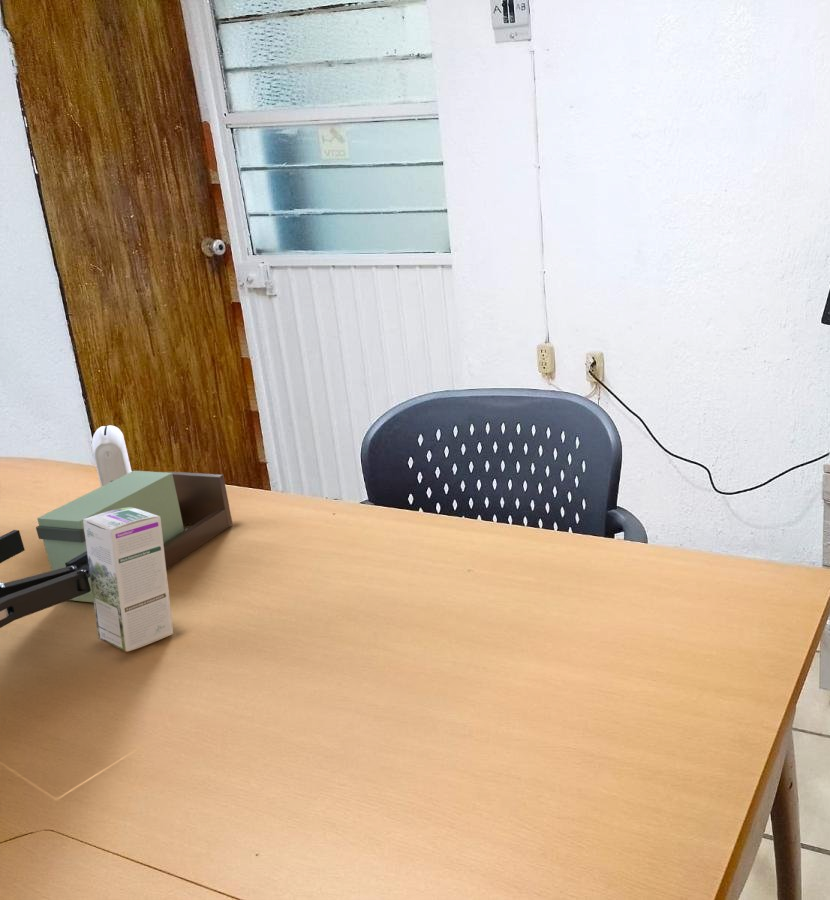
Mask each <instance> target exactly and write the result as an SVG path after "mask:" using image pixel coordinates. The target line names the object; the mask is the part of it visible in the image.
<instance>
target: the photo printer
mask: <svg viewBox="0 0 830 900" xmlns="http://www.w3.org/2000/svg"><path fill="white" fill-rule="evenodd" d="M91 451H92V456H93V460H94V463H95V468H96V472H97V476H98V480H99V484H100V487H102V486H104V485H106V484H108V483H110V482H112V481H114V480H116V479H118V478H120V477H122V476H124V475H126V474H128V473H130V472H132V471H133V470H132V467H131V463H130V458H129V454H128V449H127V446H126V441H125V437H124V433H123V432H122V431H121V429H120V428H119V427H117V426H115V425H111V424H108V425H107V426H106V425H102V426H100V427H98V428H97V429H96V430H95V432H94V433H93V436H92V440H91Z"/></svg>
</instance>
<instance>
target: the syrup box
mask: <svg viewBox="0 0 830 900" xmlns="http://www.w3.org/2000/svg"><path fill="white" fill-rule="evenodd" d="M83 520H84V521H83V524H84V532H85V540H86V547H87V555H88V563H89V570H90V577H91V586H92V592H93V601H94V602H93V608H94V615H95V622H96V628H97V629H96V631H97V637H98V639H99V640H100V641H102V642H104V643H107V644H109V645H110V646H113V647H115V648H117V649H119V650H122V651H124V652H126V653H127V652H131V651H134V650H137V649H140V648H143V647H146V646H148V645H150V644H153V643H156V642H157V641H160V640H163V639H164V638H165V639H166V638H167V637H169V636H171V635H173V634H174V628H173V620H172V618H173V617H172V609H171V599H170V591H169V582H168V574H167V573H168V572H167V569H166V564H165V555H164V545H163V536H162V527H161V518H160V516H158V515H154V514H151V513H149V512H146V511H142V510H139V509H136V508H133V507H127V508H121V509H116V510H111V511H107V512H104V513H100V514H97V515H95V516H92V517H89V518H85V519H83Z"/></svg>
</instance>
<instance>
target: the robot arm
mask: <svg viewBox="0 0 830 900" xmlns="http://www.w3.org/2000/svg"><path fill="white" fill-rule="evenodd" d="M24 551H26V550H25V546H24V542H23V539H22V536H21V532H20V530H19V529H13V530H11V531H9V532H7V533H4V534H2V535H1V536H0V564H1V563H4V562H6V561H8V560H9V559H11V558H13V557H16V556H17V555H19V554H21V553H22V552H24ZM65 565H66V567H65V568H61V569H57V570H53V571H52V570H50V571H49V570H48V571H46V572H42V573H38V574H34V575H30V576H27V577H23V578H18V579H15V580H11V581H7V582H1V581H0V629H1V628H3V627H5V626H7V625H9V624H11V623H12V622H14V621H16V620H19V619H23V618H25V617H27V616H30V615H32V614H35V613H38V612H40V611H43V610H46V609H48V608H51V607H54V606H56V605H59V604H61V603H64V602H67V601H71V600H70V599H73V598H75V597H78V596H81V595H83V594H86V593H88V592H90V591H91V588H90V585H89V581H88V578H89V577H90V570H89V563H88V555H87V551H86V552H84V553H82V554H80V555H79V556H77V557H75V558H73V559H71V560H70V561H68V562H66V563H65Z"/></svg>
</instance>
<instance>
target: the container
mask: <svg viewBox="0 0 830 900" xmlns="http://www.w3.org/2000/svg"><path fill="white" fill-rule="evenodd" d="M131 471H132V472H130V473H128V474H126V475H124V476H122V477H120V478H118V479H116V480H114V481H112V482H110V483H108V484H106V485H104V486H102V487H101V486H100V487H98V488H96V489H94V490H91V491H90V492H88V493H85V494H83V495H81V496H79V497H77V498H75V499H73V500H71V501H69V502H67V503H65V504H63V505H61V506H59V507H57V508H55V509H53V510H51V511H49V512H47V513H45V514H43V515H41V516H39V517H37V518H36V519H37V523H38V525H37V526H36V527H35V530H36V532H37V537H38V539H39V540H42V541H43V545H44V548H45V552H46V556H47V559H48V563H49V567H50V571H53V570H57V569H61V568H65V567H66V565H65V563H66V562H68V561H70V560H71V559H73V558H75V557H77V556H79V555H80V554H82V553H84V552H86V551H87V547H86V540H85V532H84V524H83V521H84V520H83V519H85V518H89V517H92V516H95V515H97V514H100V513H104V512H107V511H111V510H116V509H121V508H127V507H133V508H136V509H139V510H142V511H146V512H149V513H151V514H154V515H158V516H160V518H161V527H162V536H163V544H164V543H166V542H167V541H169V540H170V539H172V538H173V537H175V536H177V535H178V534H180V533H181V532H183V531H185V527H184V524H183V522H182V517H181V513H180V508H179V503H178V498H177V494H176V489H175V484H174V480H173V475H172V473H168V472H166V471H165V472H164V471H148V470H131ZM88 581H89V585H90V588H91V591H90V592H88V593H86V594H83V595H81V596H78V597H75V598H73V599H70V600H69V601H75V602H85V603H94V601H93V592H92V586H91V577H89V578H88Z"/></svg>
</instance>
